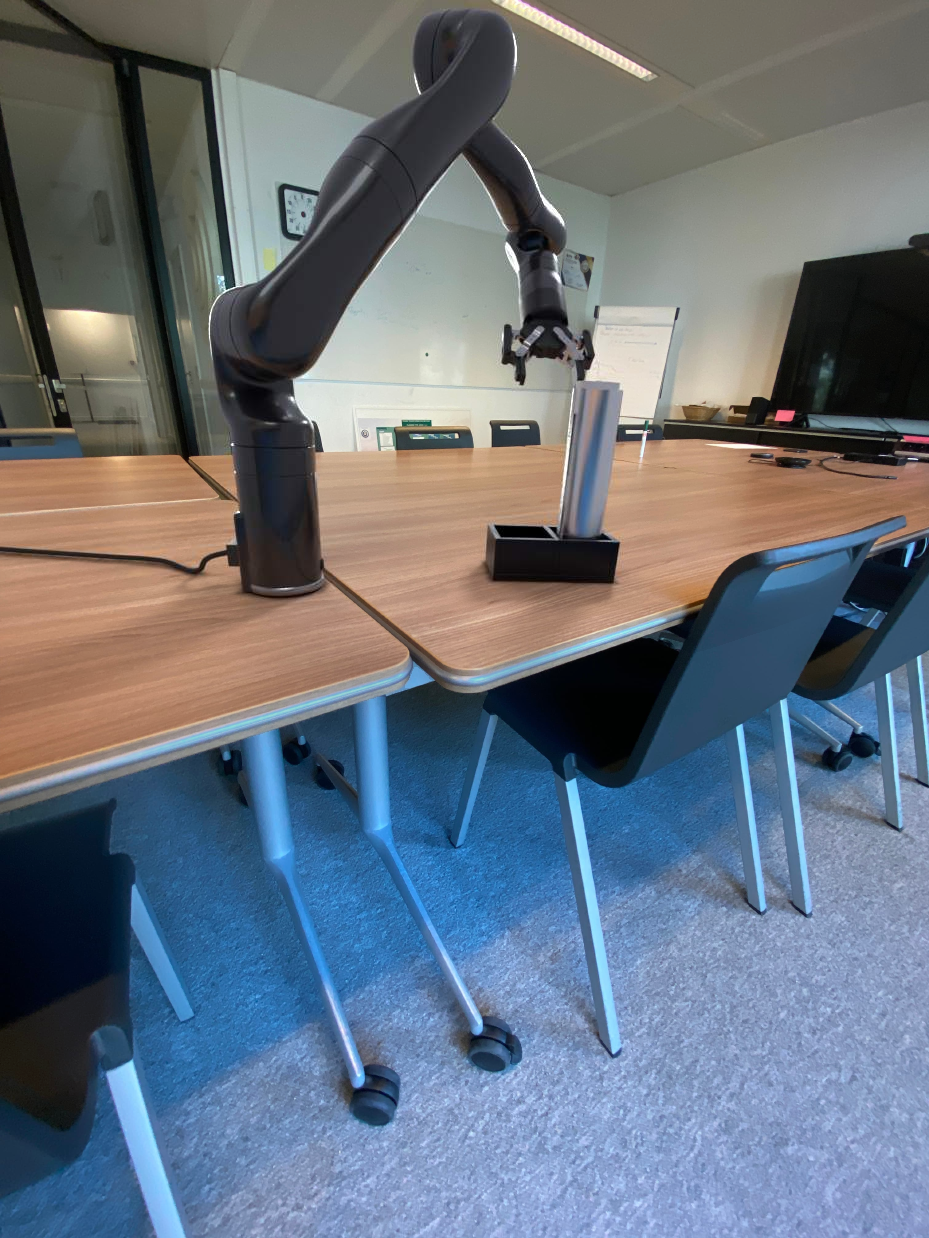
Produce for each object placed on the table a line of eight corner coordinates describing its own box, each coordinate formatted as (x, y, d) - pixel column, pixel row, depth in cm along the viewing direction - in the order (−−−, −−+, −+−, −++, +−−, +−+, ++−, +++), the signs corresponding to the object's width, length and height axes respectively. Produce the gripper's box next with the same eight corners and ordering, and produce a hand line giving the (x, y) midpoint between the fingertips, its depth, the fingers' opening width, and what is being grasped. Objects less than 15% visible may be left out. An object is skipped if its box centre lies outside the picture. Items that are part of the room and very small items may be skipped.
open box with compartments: (492, 580, 74) (495, 538, 72) (485, 561, 82) (487, 523, 80) (613, 583, 76) (620, 542, 73) (594, 564, 84) (599, 527, 82)
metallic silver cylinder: (597, 573, 76) (626, 381, 66) (551, 568, 77) (573, 378, 67) (596, 560, 81) (623, 383, 72) (553, 556, 83) (574, 380, 73)
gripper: (502, 282, 82) (508, 359, 76) (592, 289, 84) (604, 365, 77) (495, 325, 89) (500, 399, 83) (578, 331, 90) (588, 404, 84)
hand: (550, 383), depth 80 cm, fingers open, 8 cm apart
